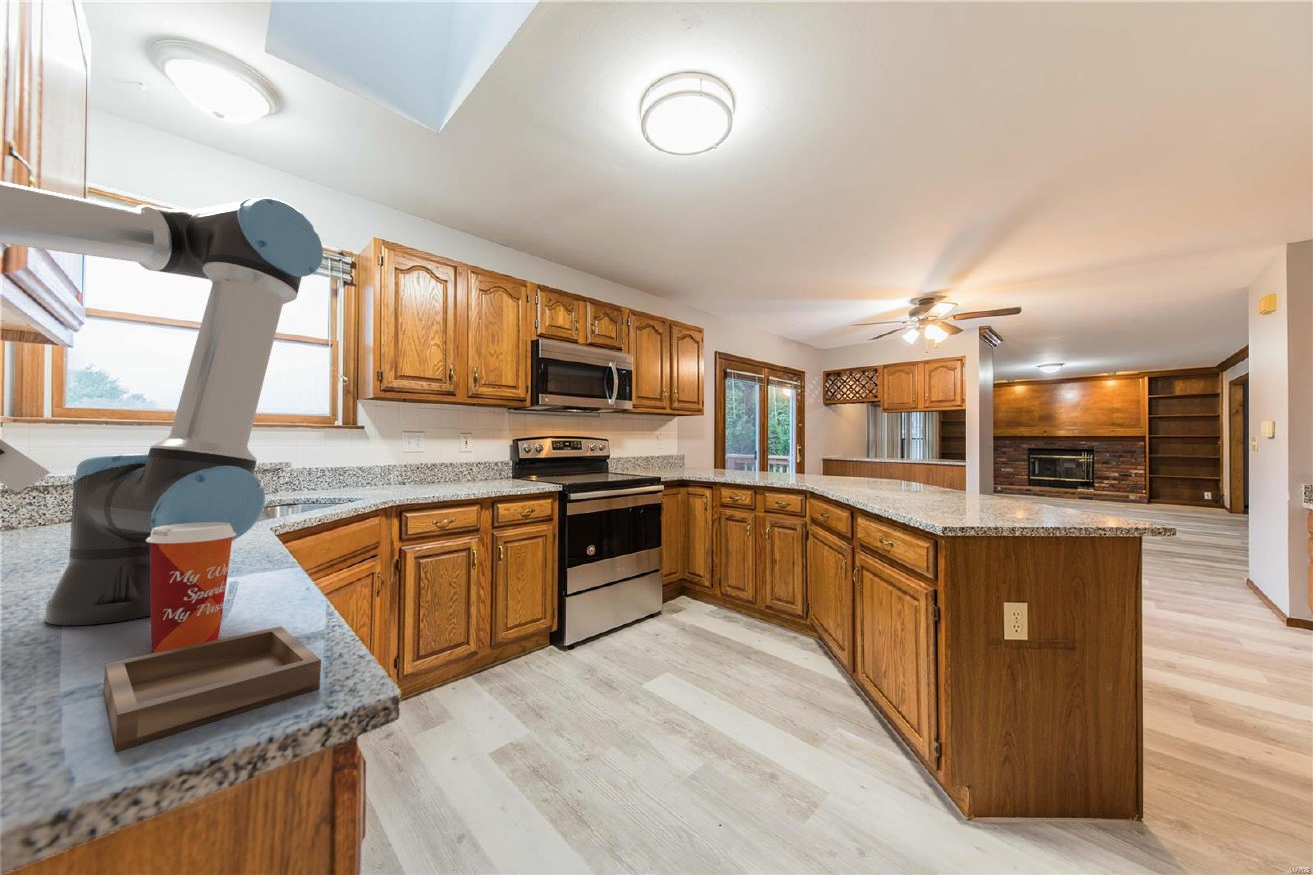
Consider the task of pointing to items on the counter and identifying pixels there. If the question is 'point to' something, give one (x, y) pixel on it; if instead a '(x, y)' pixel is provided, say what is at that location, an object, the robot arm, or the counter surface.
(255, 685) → the walnut tray
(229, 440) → the robot arm
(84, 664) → the counter surface
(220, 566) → the coffee cup
